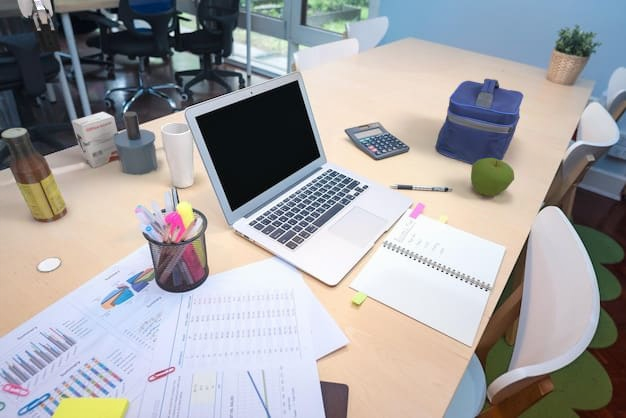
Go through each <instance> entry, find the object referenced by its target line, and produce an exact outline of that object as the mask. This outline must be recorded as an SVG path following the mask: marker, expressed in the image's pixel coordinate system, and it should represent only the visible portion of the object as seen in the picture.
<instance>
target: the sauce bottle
mask: <svg viewBox="0 0 626 418" xmlns="http://www.w3.org/2000/svg"><path fill="white" fill-rule="evenodd" d="M30 137H31V136H30V133H29V131H28V130H27V128H24V127H11V128H8V129H6V130H4V131H2V133H1V138H2V140H3V142H4V143H5V144H6V146H7V148H8V150H9V153H10V163H9V170H10V171H11V173H12V176H13V178H14V180H15V183H16V185H17V187H18V189H19V191H20V193H21V195H22V197H23V199H24V202H25V203H26V205H27V207H28V209H29V212H30V213H31V215H32V216H33V218H34V220H36V221H38V222H40V223H51V222H57V221H58V220H60V219H62V218H64V217H65V215H66V214H67V213H68V210H67V207H66V203H65V199H64V197H63V195H62V193H61V190H60V187H59V186H58V183H57V181H56V179H55V175H54V174H53V172H52V170H51V168H50V166H49V164H48V161H47V159H46V157H45V156H44V155H42V154H41V153H40V152H39V151H37V150H36V149H35V147H34V146H33V143H32V141H31V139H30Z"/></svg>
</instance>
